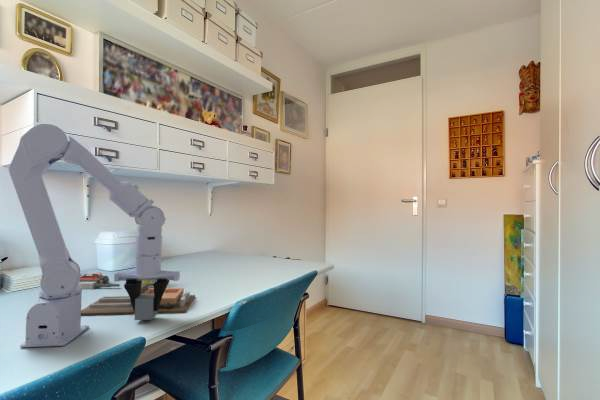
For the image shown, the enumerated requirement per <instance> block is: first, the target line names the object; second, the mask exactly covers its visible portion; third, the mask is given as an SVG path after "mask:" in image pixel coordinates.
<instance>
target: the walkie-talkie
mask: <svg viewBox="0 0 600 400" xmlns="http://www.w3.org/2000/svg"><path fill="white" fill-rule="evenodd" d="M79 276H80V281H79V284H78V287H80V288H82V290H93V289H97V288H112V287H114V288H115V287H120V286H121V284H120V283H109V282H110V278H109V276H108V275H103V273H102V272H92V271H91V272H88V273H84V274H83V273H81V272H80V275H79Z"/></svg>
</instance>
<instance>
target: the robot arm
mask: <svg viewBox="0 0 600 400" xmlns="http://www.w3.org/2000/svg"><path fill="white" fill-rule="evenodd" d="M68 139H69V140H68ZM62 159H63V162H64V163H67V164H71V165H75V166H79V167H80V168H81V169H82V170H83V171H84V172H86V173H87V174H89V175H90V176H91V177H92V178H94V180H95V181H97V182H98V183H99V184H101V185H102V186H103V187H105V189H107V190H108V199H109V200H110V201H111V202H112V203H114V204H115V205H116V206H117V207H118V208H119V209H120V210H122V211H123V212H124V213H125V214H126V215H127V216H129V217H130V218H134V221H135V223H136V225H137V229H136V230H137V233H136V234H137V235H136V237H135V260H134V262H135V263H134V265H135V267H134V270H129V271H116V272H114V278H113V282H121V281H122V282H124V281H125V283H124V284H123V288H124V289H125V291H126V293H127V294H128V296H129V297H130V299H131V302H132V306H133V311H134V312H135V299H136V298H137V297H138V296H140V291H141V284H142V281H143V280H157V282H155V283H154V284H153V287H152V288H153V289H154V311H158V309H159V307H160V302H161V299H162V296H163V293H164V291H165V289H166V288H168V285H169V283H170V281H174V282H178V281H180V277H181V273H180V271H173V270H163V269H162V252H163V251H162V247H163V244H162V243H163V235H162V233H163V232H162V231H163V228H162V227H163V225H164V224H165V223H166V217H165V213H164V212H163V210H162V209H161V208H159V207H158V206H155V205H153V204H154V200H152V199H151V198H150V199H148V197H147V196H145V195H144V194H143V193H142V192H141V191H140V190H139V188H140V187H139V186H138V184H136V183H133V184H132V183H131V181H120V179H118V178H117V176H115V175H114V174H113V173H112V172H111V171H110V170H109V169H108V168H107V167H106V166H105V165H104V164H103V163H102V162H101V161H100V160H99V159H98V158H97V157H95V155H93V153H92V152H90V151H89V149H87V148H86V147H85V146H83V145H82V144H81V143H79V141H77V140H76V139H74V138H73V137H71V136H70V135H68V137H67V135H66V132H64V130H63V129H61V128H60V127H58V126H57V125H54V124H51V123H39V124H36V125H34V126H32V127H31V128H30V129H28V130H27V131H26V132H25V133H24V134H23V135H22V136H21V137H20V140H19V143H18V146H17V148H16V151H15V152H14V155H13V157H12V160H11V162H10V164H9V167H8V172H9V175H10V178H11V181H12V184H13V186H14V190H15V192H16V195H17V198H18V200H19V204H20V206H21V209H22V212H23V214H24V217H25V220H26V223H27V226H28V229H29V231H30V234H31V236H32V237H31V238H32V240H33V243H34V245H35V249H36V250H37V254H38V260H39V267H40V270H41V278H40V283H39V284H40V288H41V290H42V291H40V292H39V294H38V299H37V302H36V303H35V304H34V305H33V306H32V307H30V309H29V310H28V311H27V313H26V316H25V317H26V319H25V320H26V321H25V322H26V323H25V341H24V342H23V343H21V344H20V345H19V347H20V348H32V347H33V348H38V347H39V348H42V347H60V346H66V345H67V344H69V343H70V342H71V341H72V340H74V339H75V338H76V337H78V336H79V335H80V334H82V333H84V332H85V331H86V330H87V329H89V327H90V325H89V324H82V325H81V322H82V321H81V320H82V316H81V310H82V295H83V294H82V291H83V289H82V288H80V287H78V284H79V281H80V276H79V275H80V274H81V268H80V265H79V264H78V263H77V262H76V261H75V260H74V259H72V257H71V254H70V252H69V249H68V248H67V246H66V242H65V240H64V237H63V234H62V231H61V228H60V225H59V222H58V220H57V216H56V213H55V211H54V207H53V205H52V202H51V199H50V198H51V197H50V196H49V193H48V190H47V188H46V184H45V182H44V178H43V175H44V174H45V173H46V171H48V169H49V168H50V167H51V166H52V165H53V164H55V163H56V162H58V161H60V160H62Z"/></svg>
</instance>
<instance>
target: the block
mask: <svg viewBox="0 0 600 400" xmlns="http://www.w3.org/2000/svg"><path fill="white" fill-rule="evenodd" d="M157 315H158V311H154V294H141V295H140V296H138V297H137V298H136V299H135V314H134V321H148V320H149V321H151V320H152V321H153V320H154V319H155V317H156V316H157Z"/></svg>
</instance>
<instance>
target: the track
mask: <svg viewBox="0 0 600 400" xmlns="http://www.w3.org/2000/svg"><path fill="white" fill-rule="evenodd" d="M195 298H196V295H195V294H191V292H190V290H188V291H185V292H184V294H183V295H182V296H181V297H180V299H179V300H178V301H177V302H176V304H171V306H170V307H169V308H168V309H166V308H165V307H164V305H165V304H163V305H160V307H159V309H158V314H185V313H186V312H187V310H188V308H189V307H190V305H191V304H192V302H193V301H194V299H195ZM130 300H131V299H130V297H129V295H128V296H127V295H126V296H121V295H120V296H119V295H118V296H103V297H100V298H99V299H98V300H96V301H94V302H93V303H91V304H89V305H88V306H86V307H85V308H83V309H81V317H82V316H85V317H86V316H118V315H119V316H121V315H135V312H134V311H133V306H132V305H130ZM158 314H157V315H158Z"/></svg>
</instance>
